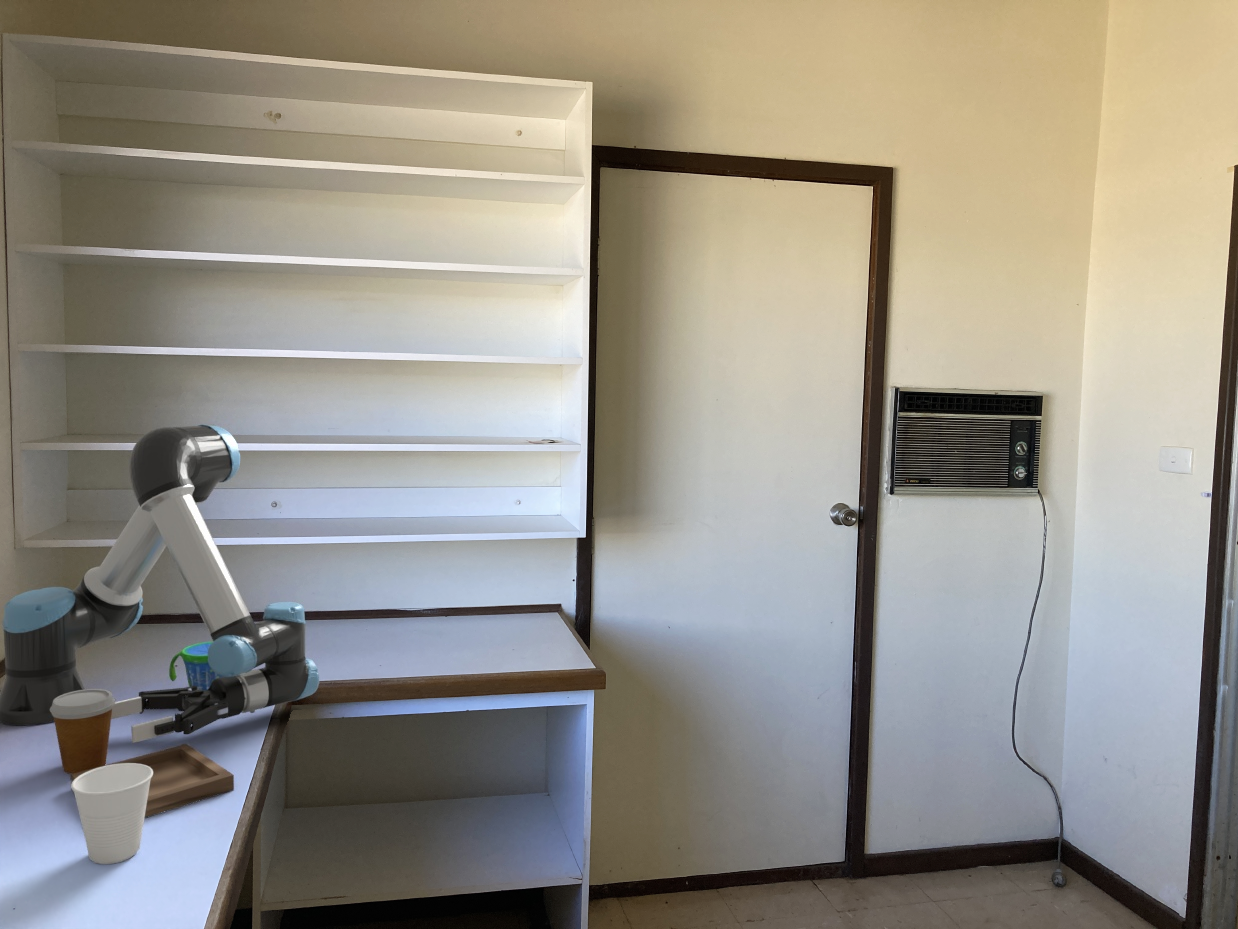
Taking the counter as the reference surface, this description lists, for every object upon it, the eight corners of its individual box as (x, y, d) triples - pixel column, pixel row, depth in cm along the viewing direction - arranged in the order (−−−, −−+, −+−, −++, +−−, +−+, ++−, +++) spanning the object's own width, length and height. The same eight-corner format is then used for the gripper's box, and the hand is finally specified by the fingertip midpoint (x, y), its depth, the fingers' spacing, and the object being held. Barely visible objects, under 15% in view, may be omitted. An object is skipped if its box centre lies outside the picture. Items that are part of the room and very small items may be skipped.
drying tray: (71, 789, 147) (70, 774, 146) (186, 757, 160) (186, 743, 160) (113, 828, 135) (112, 811, 134) (233, 789, 148) (233, 774, 148)
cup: (136, 829, 134) (134, 756, 133) (167, 852, 128) (166, 776, 127) (61, 855, 127) (59, 778, 126) (91, 881, 120) (88, 800, 119)
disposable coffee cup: (106, 776, 152) (104, 705, 151) (42, 780, 150) (39, 708, 149) (124, 753, 161) (122, 686, 160) (64, 757, 159) (62, 689, 158)
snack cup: (160, 703, 186) (159, 654, 185) (185, 686, 196) (184, 639, 195) (237, 705, 186) (236, 656, 185) (258, 688, 196) (257, 641, 195)
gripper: (270, 731, 166) (146, 766, 150) (208, 697, 182) (90, 725, 167) (269, 690, 165) (145, 721, 149) (207, 660, 182) (89, 685, 166)
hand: (116, 723), depth 158 cm, fingers open, 13 cm apart
